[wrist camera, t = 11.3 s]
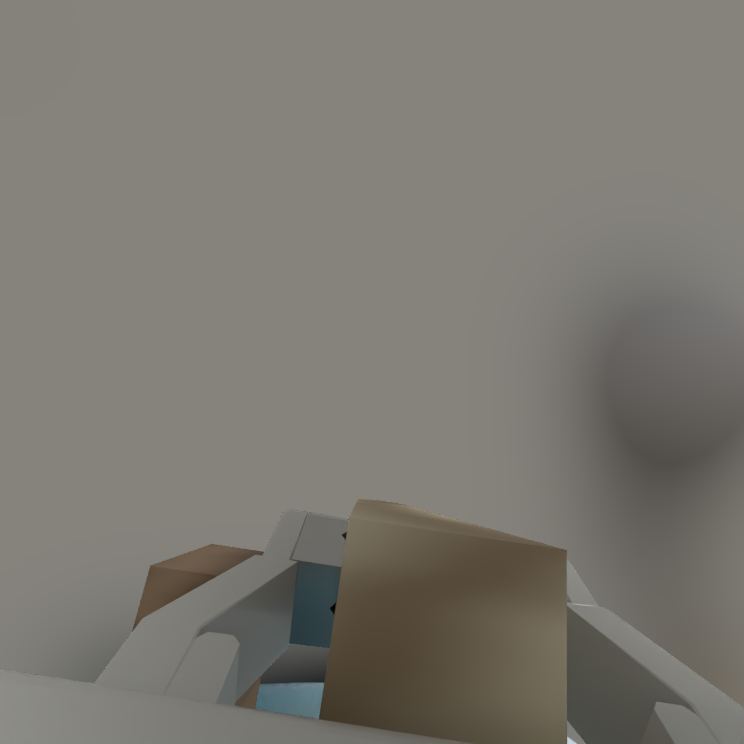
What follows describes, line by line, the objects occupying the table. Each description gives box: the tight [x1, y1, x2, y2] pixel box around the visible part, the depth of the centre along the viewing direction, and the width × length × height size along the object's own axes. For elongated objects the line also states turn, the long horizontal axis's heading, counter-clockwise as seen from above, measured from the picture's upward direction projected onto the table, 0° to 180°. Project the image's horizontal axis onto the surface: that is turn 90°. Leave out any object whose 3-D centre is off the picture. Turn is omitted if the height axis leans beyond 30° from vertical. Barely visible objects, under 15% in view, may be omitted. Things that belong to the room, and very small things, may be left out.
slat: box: [319, 498, 567, 744], centre depth 17 cm, size 3×24×2 cm, turn 2°
